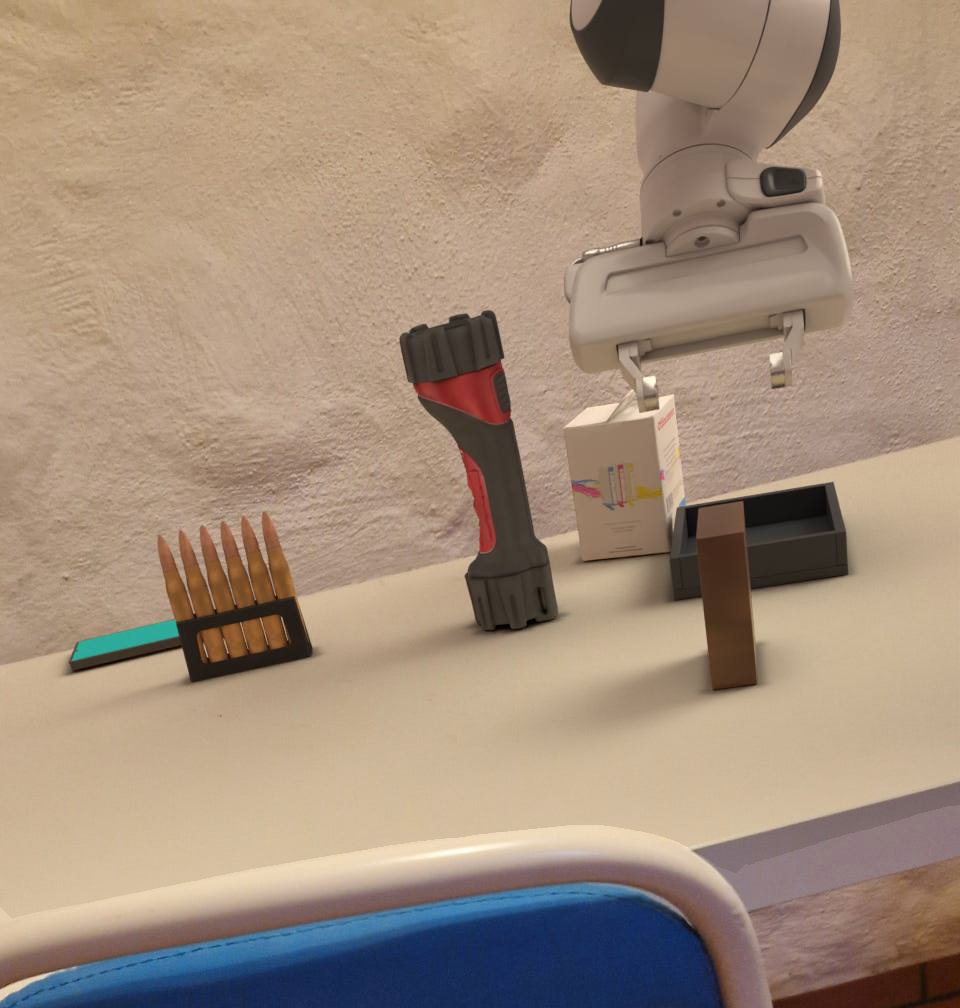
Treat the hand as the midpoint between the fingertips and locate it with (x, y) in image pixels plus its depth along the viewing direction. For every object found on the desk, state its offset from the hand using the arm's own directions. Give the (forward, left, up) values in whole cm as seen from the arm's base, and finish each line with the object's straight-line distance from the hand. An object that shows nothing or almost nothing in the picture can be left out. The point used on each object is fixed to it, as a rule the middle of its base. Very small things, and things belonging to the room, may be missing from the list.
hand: (714, 394), depth 100 cm
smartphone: (+55, -15, -15) cm, 59 cm away
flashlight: (+19, -6, -16) cm, 25 cm away
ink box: (+9, -24, -16) cm, 30 cm away
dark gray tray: (-2, -13, -15) cm, 20 cm away
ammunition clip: (+41, -4, -16) cm, 44 cm away
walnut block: (0, +13, -15) cm, 20 cm away
